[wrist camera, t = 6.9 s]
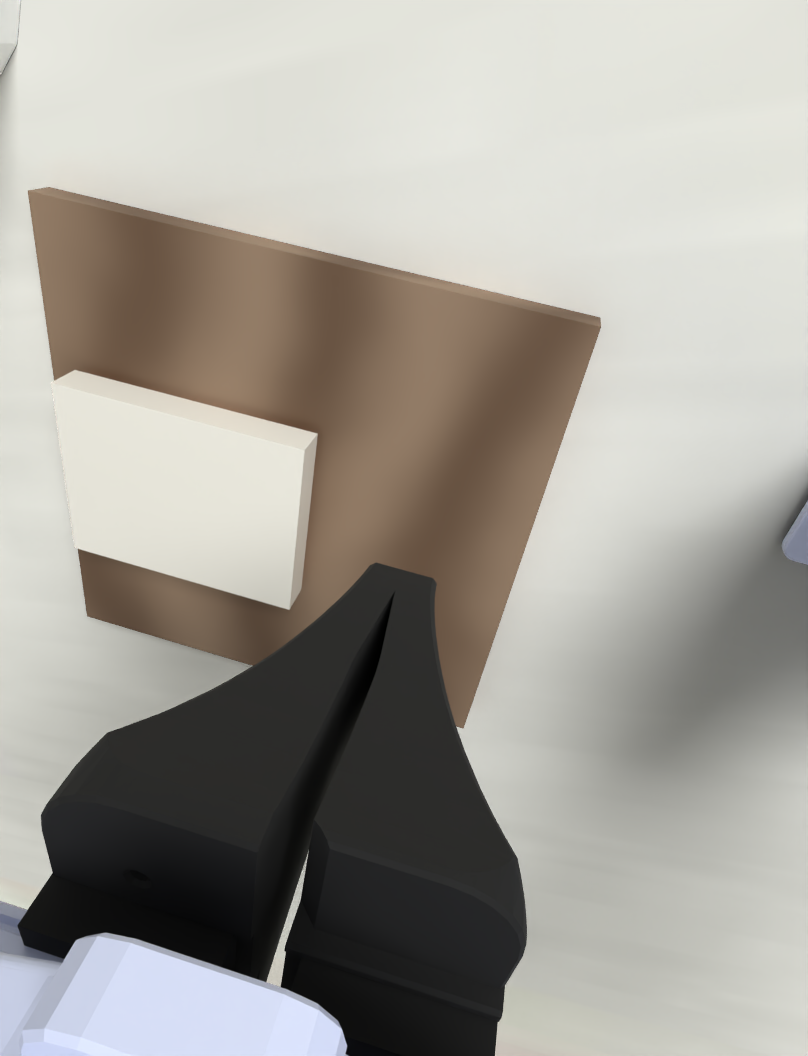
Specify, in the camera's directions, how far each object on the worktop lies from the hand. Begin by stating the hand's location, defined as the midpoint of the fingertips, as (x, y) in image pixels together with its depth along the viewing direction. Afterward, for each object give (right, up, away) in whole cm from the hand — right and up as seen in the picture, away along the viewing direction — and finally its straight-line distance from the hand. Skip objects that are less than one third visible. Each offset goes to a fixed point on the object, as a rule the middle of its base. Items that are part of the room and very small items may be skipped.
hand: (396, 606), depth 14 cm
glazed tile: (-3, +2, +10) cm, 11 cm away
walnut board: (-4, +3, +12) cm, 13 cm away
